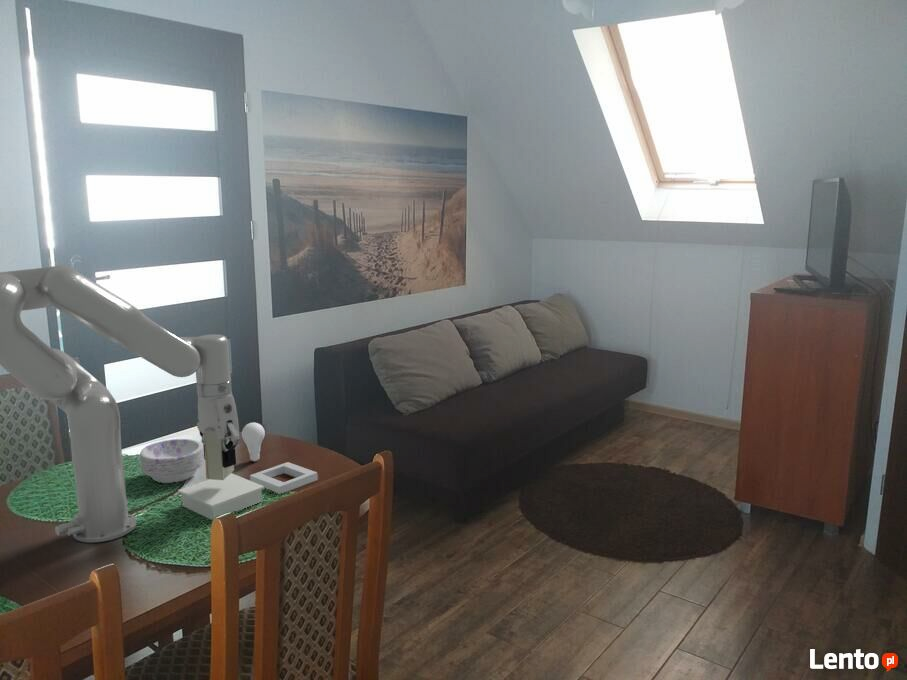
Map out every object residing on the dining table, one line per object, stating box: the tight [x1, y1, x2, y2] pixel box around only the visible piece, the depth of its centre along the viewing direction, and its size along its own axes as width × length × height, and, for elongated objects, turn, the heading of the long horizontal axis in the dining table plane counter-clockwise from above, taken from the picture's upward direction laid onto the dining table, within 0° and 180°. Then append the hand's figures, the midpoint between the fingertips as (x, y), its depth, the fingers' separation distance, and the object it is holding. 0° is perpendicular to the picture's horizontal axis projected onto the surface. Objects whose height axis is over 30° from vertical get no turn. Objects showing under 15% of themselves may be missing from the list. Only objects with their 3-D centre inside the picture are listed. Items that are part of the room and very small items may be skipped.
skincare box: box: [204, 428, 235, 480], centre depth 168 cm, size 6×4×12 cm
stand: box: [177, 472, 265, 521], centre depth 170 cm, size 14×14×4 cm
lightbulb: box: [241, 422, 266, 462], centre depth 197 cm, size 6×6×11 cm
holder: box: [249, 461, 319, 495], centre depth 184 cm, size 12×12×2 cm
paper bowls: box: [139, 438, 205, 484], centre depth 187 cm, size 15×15×8 cm
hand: (220, 461), depth 169 cm, fingers closed on skincare box, 6 cm apart
